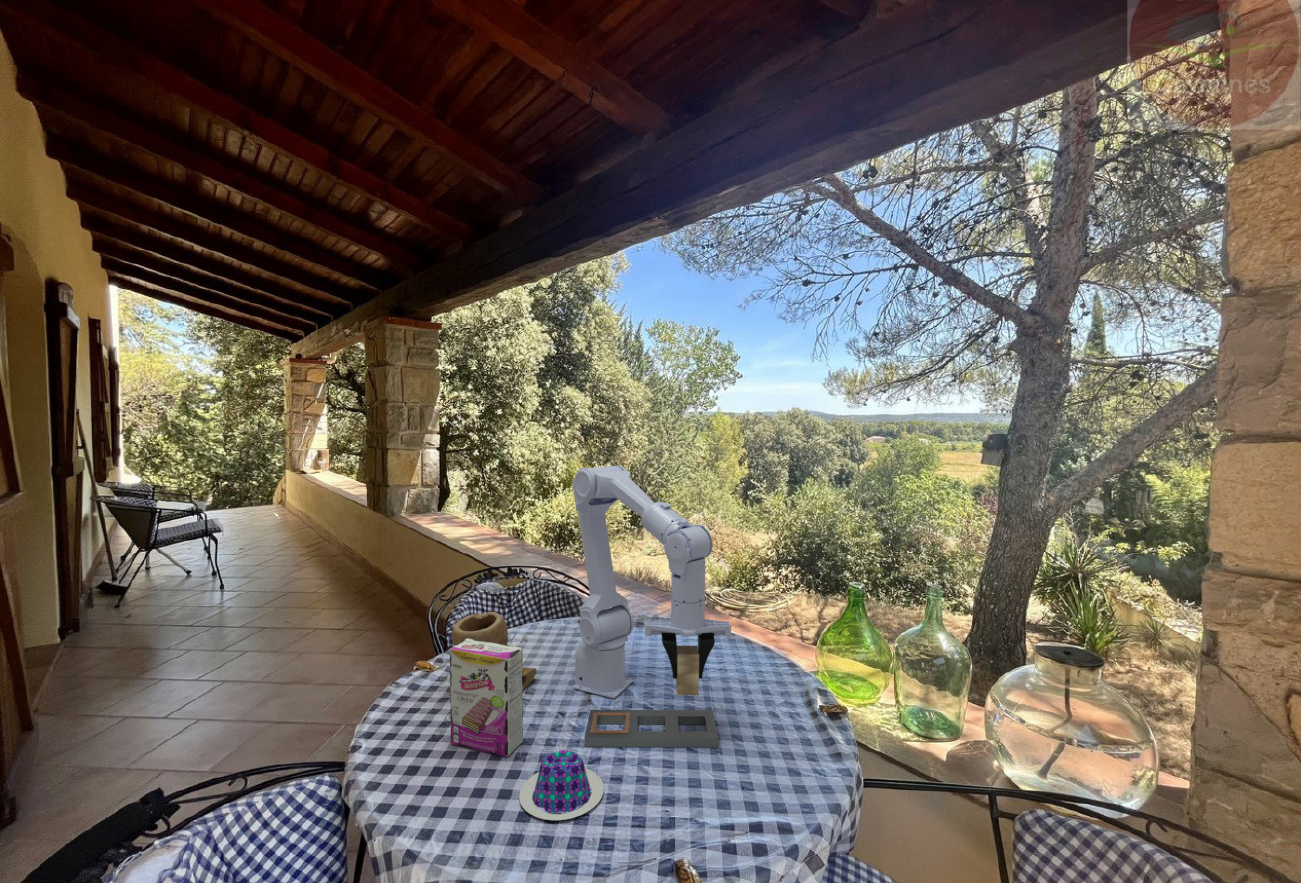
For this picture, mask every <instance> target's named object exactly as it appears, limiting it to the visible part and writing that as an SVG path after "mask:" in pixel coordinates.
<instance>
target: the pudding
mask: <svg viewBox="0 0 1301 883" xmlns="http://www.w3.org/2000/svg"><path fill="white" fill-rule="evenodd" d="M534 789H535V790H534ZM591 789H592V790H591ZM604 789H605V788H604V783H603V781H602V779H601V777H600V776H599V775H598V774H597V773H596V772H595V771H592V770H591V769H588V768H587V767H586V766H585V764H584V761H583V759H582V757H581V756H579V754H578V753H577V752H575V751H572V750H571V751H568V750H564V749H563V750H559V751H556V752H555V751H554V752H550V754H549V753H548V755H547V756H546V757H545V758H544V759H543V760H542V761H541V763H540V767H539V770H538V772H536V773H534V774H533V775H532V776H530V777H528V779H527V780H526V781H525V782H524V783H523V785H522V787H521V788H520V790H519V797H518V798H519V802H520V805H521V806H522V808H523V809H524V810H525V812H527V813H528V814H530V815H531V816H534V817H536V818H538V819H542V820H547V821H548V820H549V821H563V820H565V821H566V820H569V819H573V818H574V819H575V818H576V817H579V816H582V815H584V814H586V813H588V812H589V811H591V810H592V809H594V808H595V807H596V806H597V805H598V804H599V803H600V801H601V799H602V797H603V795H604ZM591 792H592V793H591ZM589 794H590V797H589V796H588V795H589ZM533 796H534V800H533ZM579 806H581V807H580V808H578V809H577V807H579ZM539 808H543V809H544V811H543V810H541V809H539ZM559 812H562V813H560V814H559ZM556 813H558V814H556Z"/></svg>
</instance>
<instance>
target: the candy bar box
mask: <svg viewBox="0 0 1301 883" xmlns="http://www.w3.org/2000/svg"><path fill="white" fill-rule="evenodd" d="M523 654H524V653H523V647H519V646H513V645H508V644H507V645H502V644H496V643H490V642H485V641H479V640H473V639H468V638H467V639H465V640H464V641H462V642H460V643H459V644H457V645H455V646H454V645H453V646H452V647H450V648H449V674H450V675H449V688H450V695H449V696H450V698H449V699H450V701H449V703H450V744H451V745H454V746H458V747H462V748H468V749H471V750H475V751H479V752H483V753H488V754H493V755H496V756H500V757H505V758H508V757H510V755H512V754H513V753H514V752H515V750H516V749H517V748H519V747H520V746H521V744H523V741H524V731H523V730H524V729H523V728H524V722H523V720H524V718H523V714H524V712H523V710H524V707H523V705H524V704H523V703H524V701H523V700H524V699H523V693H524V692H523V690H524V689H523V674H522V672H523V671H522V669H523V668H524V667H523V658H524V657H523Z"/></svg>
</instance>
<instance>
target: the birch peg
mask: <svg viewBox="0 0 1301 883" xmlns="http://www.w3.org/2000/svg"><path fill="white" fill-rule="evenodd" d="M676 663H677V679H675V680H676V681H675V687H676V695H677V696H699V693H700V692H699V690H700V687H699V686H700V685H699V684H700V682H699V681H700V679H699V652H698V645H677V656H676Z"/></svg>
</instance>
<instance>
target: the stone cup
mask: <svg viewBox="0 0 1301 883" xmlns="http://www.w3.org/2000/svg"><path fill="white" fill-rule="evenodd" d="M467 638H468V639H473V640H479V641H485V642H490V643H496V644H502V645H508V640H509V632H508V625H507V622H506V620H505V618H504V617H503V616H502V615H501V614H499V613H497V612H495V611H487V612H484V613H473V614H470V615H466V616H465V617H463V618H461V619H459V621H457V622H456V623H455V624H454V626H453V628H452V629H451V642H452V645H453V646H455V645H457V644H459V643H460V642H462V641H464V640H465V639H467ZM522 671H523V672H522V674H523V690H525V688H527V687H528V686H529V685H530V684H531V682H532V681H534V678H535V677H536V675H537V673H538V669H537V668H536V667H523V669H522Z"/></svg>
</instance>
